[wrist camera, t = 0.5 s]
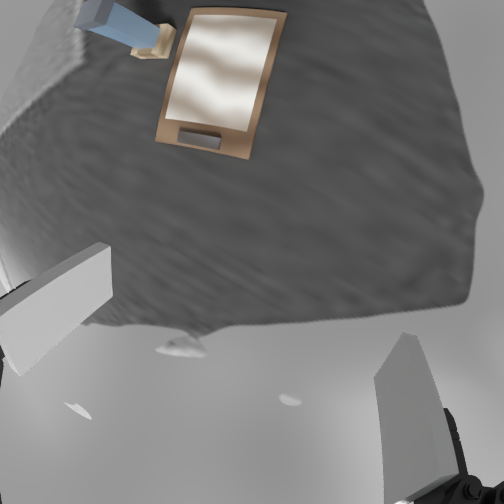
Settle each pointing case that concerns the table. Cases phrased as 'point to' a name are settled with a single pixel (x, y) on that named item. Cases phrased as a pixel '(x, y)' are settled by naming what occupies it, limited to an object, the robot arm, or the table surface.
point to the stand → (158, 44)
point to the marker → (117, 23)
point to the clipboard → (220, 79)
